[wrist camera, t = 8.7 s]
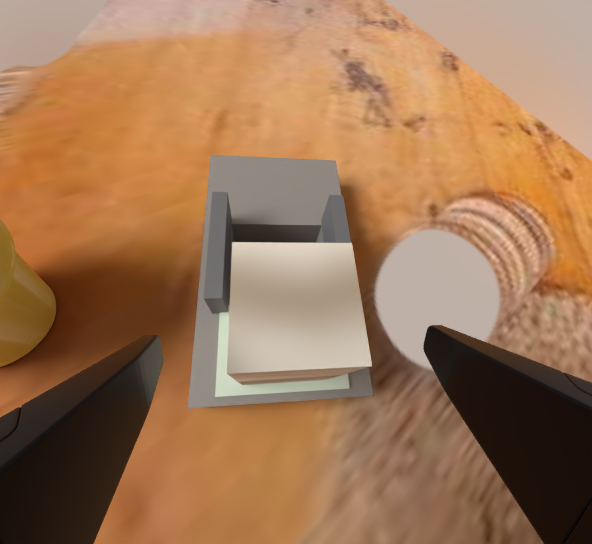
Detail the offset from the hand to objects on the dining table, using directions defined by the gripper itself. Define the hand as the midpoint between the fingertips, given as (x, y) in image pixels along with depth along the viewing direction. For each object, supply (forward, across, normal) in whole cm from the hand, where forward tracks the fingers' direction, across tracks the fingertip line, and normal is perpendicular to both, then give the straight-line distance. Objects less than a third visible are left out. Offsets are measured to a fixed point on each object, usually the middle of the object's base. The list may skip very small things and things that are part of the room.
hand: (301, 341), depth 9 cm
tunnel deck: (+14, 0, +3) cm, 14 cm away
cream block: (+7, 0, +5) cm, 9 cm away
